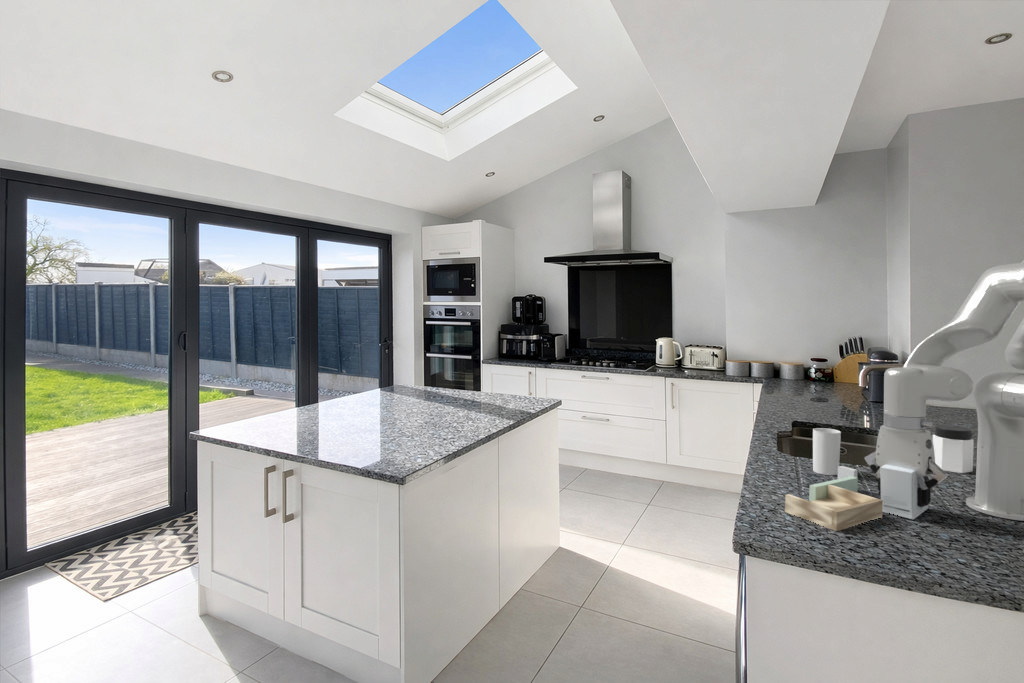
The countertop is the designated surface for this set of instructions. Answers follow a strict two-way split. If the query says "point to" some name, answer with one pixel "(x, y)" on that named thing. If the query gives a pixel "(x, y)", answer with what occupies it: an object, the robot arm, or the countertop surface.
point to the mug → (826, 451)
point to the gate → (835, 483)
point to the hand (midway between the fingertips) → (903, 499)
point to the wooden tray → (836, 508)
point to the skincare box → (900, 492)
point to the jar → (953, 448)
